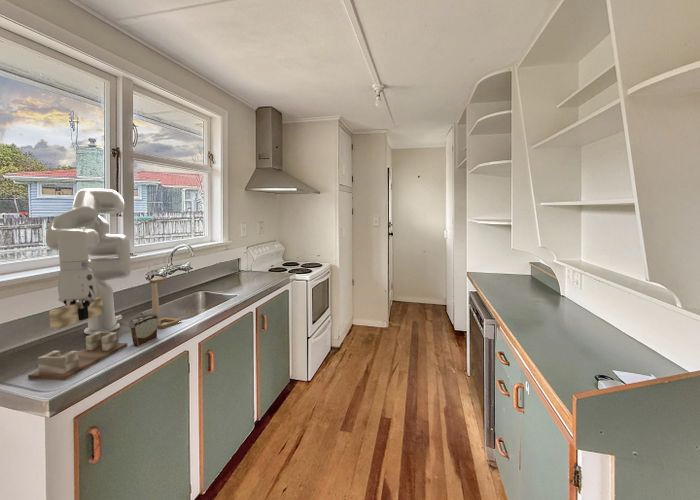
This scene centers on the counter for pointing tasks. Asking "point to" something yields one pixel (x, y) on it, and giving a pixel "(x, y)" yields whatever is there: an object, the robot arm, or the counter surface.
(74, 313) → the slat
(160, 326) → the headphone stand
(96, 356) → the board
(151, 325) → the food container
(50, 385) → the counter surface
